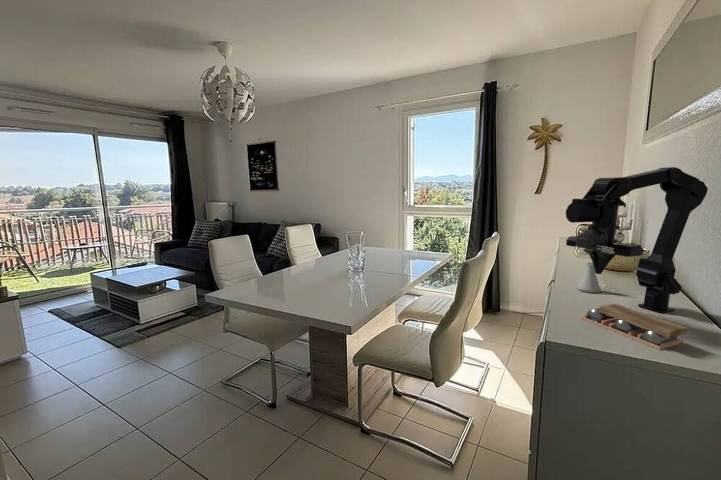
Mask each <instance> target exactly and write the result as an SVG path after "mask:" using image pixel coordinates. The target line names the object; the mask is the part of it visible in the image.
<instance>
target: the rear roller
mask: <svg viewBox="0 0 721 480" xmlns="http://www.w3.org/2000/svg"><path fill="white" fill-rule="evenodd" d="M586 314H587V317H588V319H590V320H593V321H595V322H598V323H600V322H601V321H603V320H607V319H612V318H614V317H612V316H609V315H606V314H604V313H601V312H599V307H598V308H593V309H589V310H588V311H587V313H586Z"/></svg>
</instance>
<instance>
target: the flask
mask: <svg viewBox="0 0 721 480" xmlns="http://www.w3.org/2000/svg"><path fill="white" fill-rule="evenodd" d="M585 265H586V269H585V272H584V274H583V276H582V277H581V279H580V281H579V283H578V285H577V286H576V290H579V291H581V292H584V293H585V292H586V293H589V294H593V293H600V292H601V291H602V290H601V286H600V283H599V280H598V276H597V274H596V272H595V269H594V265H593V262H585Z"/></svg>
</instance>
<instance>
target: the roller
mask: <svg viewBox="0 0 721 480" xmlns="http://www.w3.org/2000/svg"><path fill="white" fill-rule="evenodd" d="M677 338H678V336H676V337H671V338H668V337H665V336H662V335H660V334H657V333H654V332H652V331H647V332H645V333H644V334H643V339H642V340H645V341H647V342H650V343H652V344H655V345H657V346H660V343H662V342H666V341H670V340H673V339H677Z"/></svg>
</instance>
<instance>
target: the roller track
mask: <svg viewBox="0 0 721 480" xmlns="http://www.w3.org/2000/svg"><path fill="white" fill-rule="evenodd" d="M580 319H581V320H583V321H585V322H587V323H590V324H592V325H595V326H598V327H600V328H603V329H605V330H609V331H610V332H612V333H616V334H618V335H620V336H623V337H626V338H629V339H631V340H634V341H636V342H638V343H641V344H644V345H646V346H648V347H651V348H654V349H656V350H660V351H661V350H662V349H667V348H671V347H674V346H678V345H681V344H684V342H685V341H684V339H681V338H678V337H677V339H673V340H670V341H666V342H662V343H660V345H655V344H652V343H650V342H647V341H645V340H643V334H644V333H645V332H647V331H649V330H646V329H644V328H639V329H635V330H631V331H628V333H624V332H621V331H619V330H616V329H614V322H615V321H618V320H620V319H617V318H612V319H607V320H603V321H600V322H595V321H593V320H590V319H588V317H587V313H584V314H583V316H581V317H580Z"/></svg>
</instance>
